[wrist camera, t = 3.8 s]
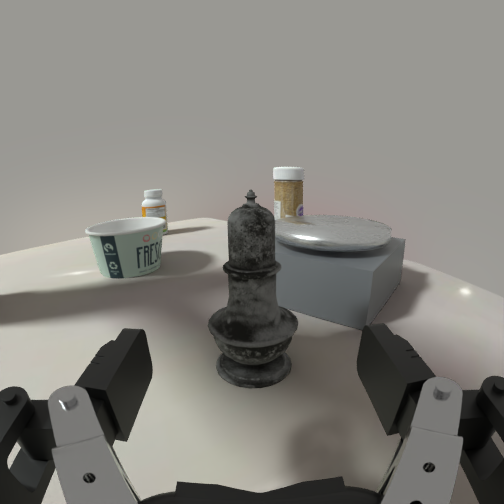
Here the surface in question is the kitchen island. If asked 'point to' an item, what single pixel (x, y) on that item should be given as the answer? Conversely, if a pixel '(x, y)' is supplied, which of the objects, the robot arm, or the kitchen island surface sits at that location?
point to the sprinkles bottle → (288, 192)
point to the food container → (127, 246)
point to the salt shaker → (252, 304)
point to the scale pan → (332, 233)
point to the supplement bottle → (155, 206)
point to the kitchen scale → (338, 281)
